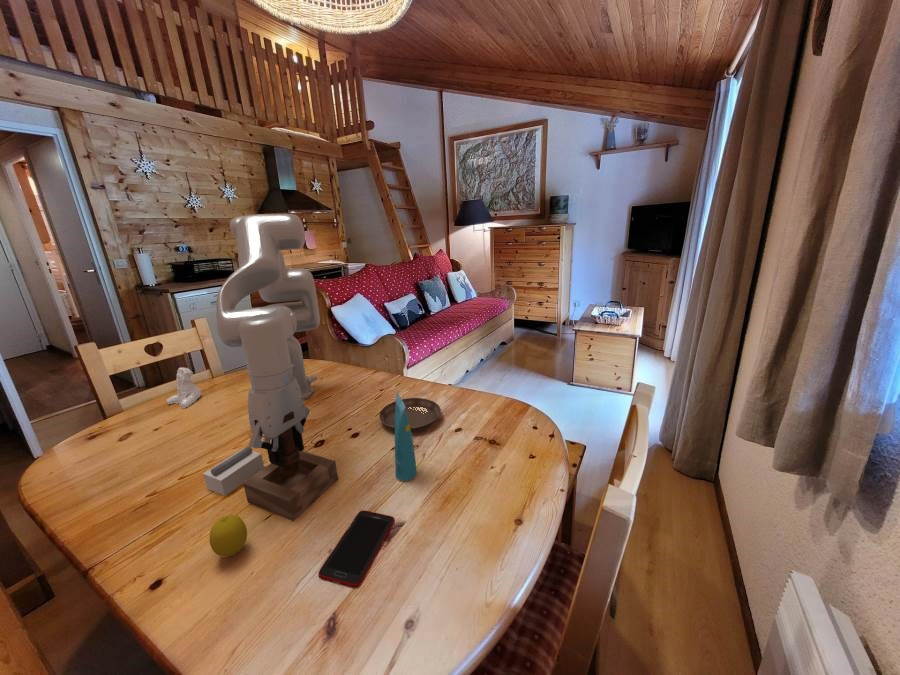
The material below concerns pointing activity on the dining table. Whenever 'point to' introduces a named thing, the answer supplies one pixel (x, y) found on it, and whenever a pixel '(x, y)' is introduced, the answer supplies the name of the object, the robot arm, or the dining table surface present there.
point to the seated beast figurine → (184, 389)
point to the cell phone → (357, 549)
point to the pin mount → (233, 471)
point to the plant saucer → (412, 414)
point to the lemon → (228, 535)
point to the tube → (403, 444)
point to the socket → (291, 486)
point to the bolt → (289, 449)
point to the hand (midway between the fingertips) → (287, 455)
